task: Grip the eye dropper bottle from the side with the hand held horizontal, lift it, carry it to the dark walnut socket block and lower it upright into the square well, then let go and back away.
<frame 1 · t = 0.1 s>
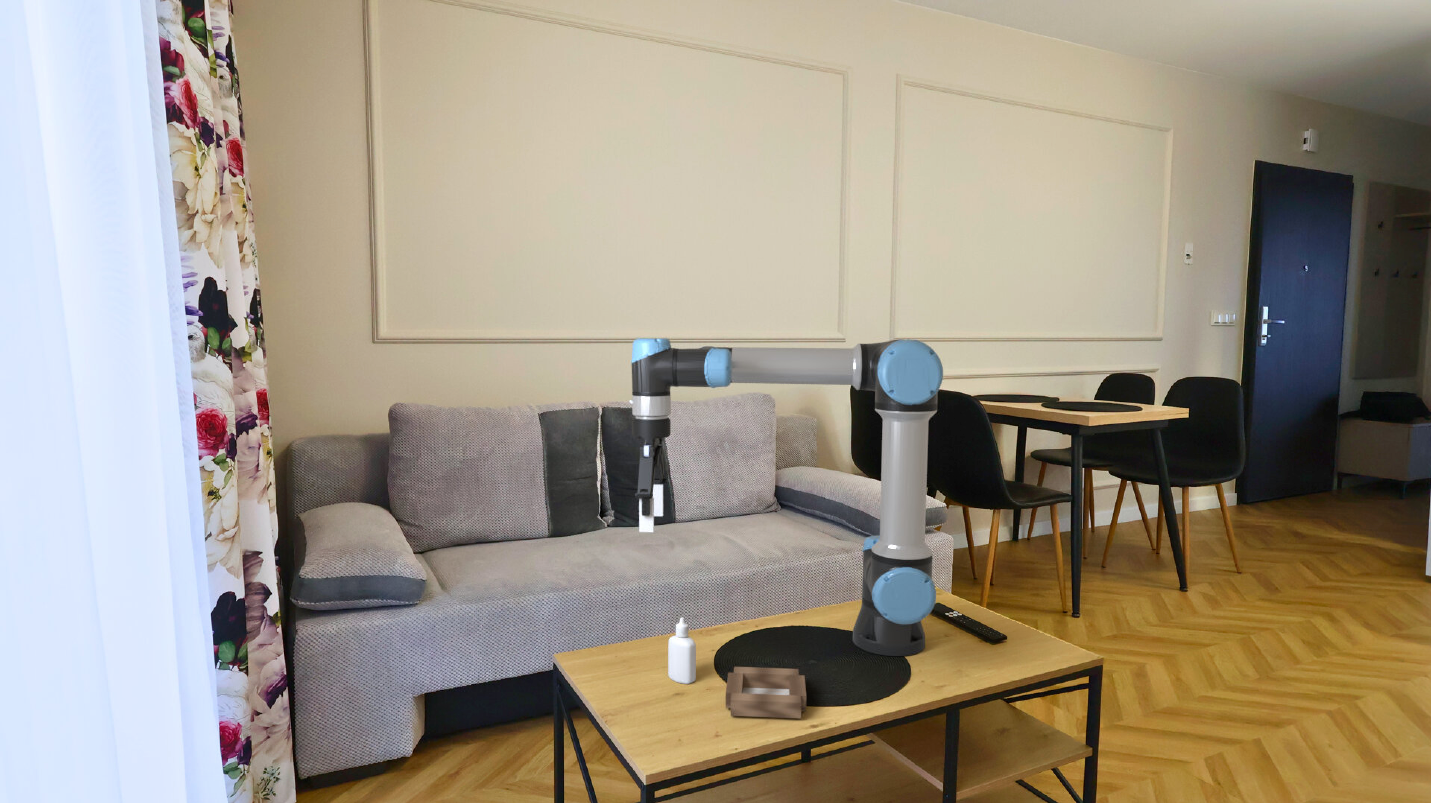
hand: (651, 523, 163), 28 cm above the table, tool pointing down, fingers open, 13 cm apart
eye dropper bottle: (681, 680, 157), on the table
socket block: (765, 701, 148), on the table
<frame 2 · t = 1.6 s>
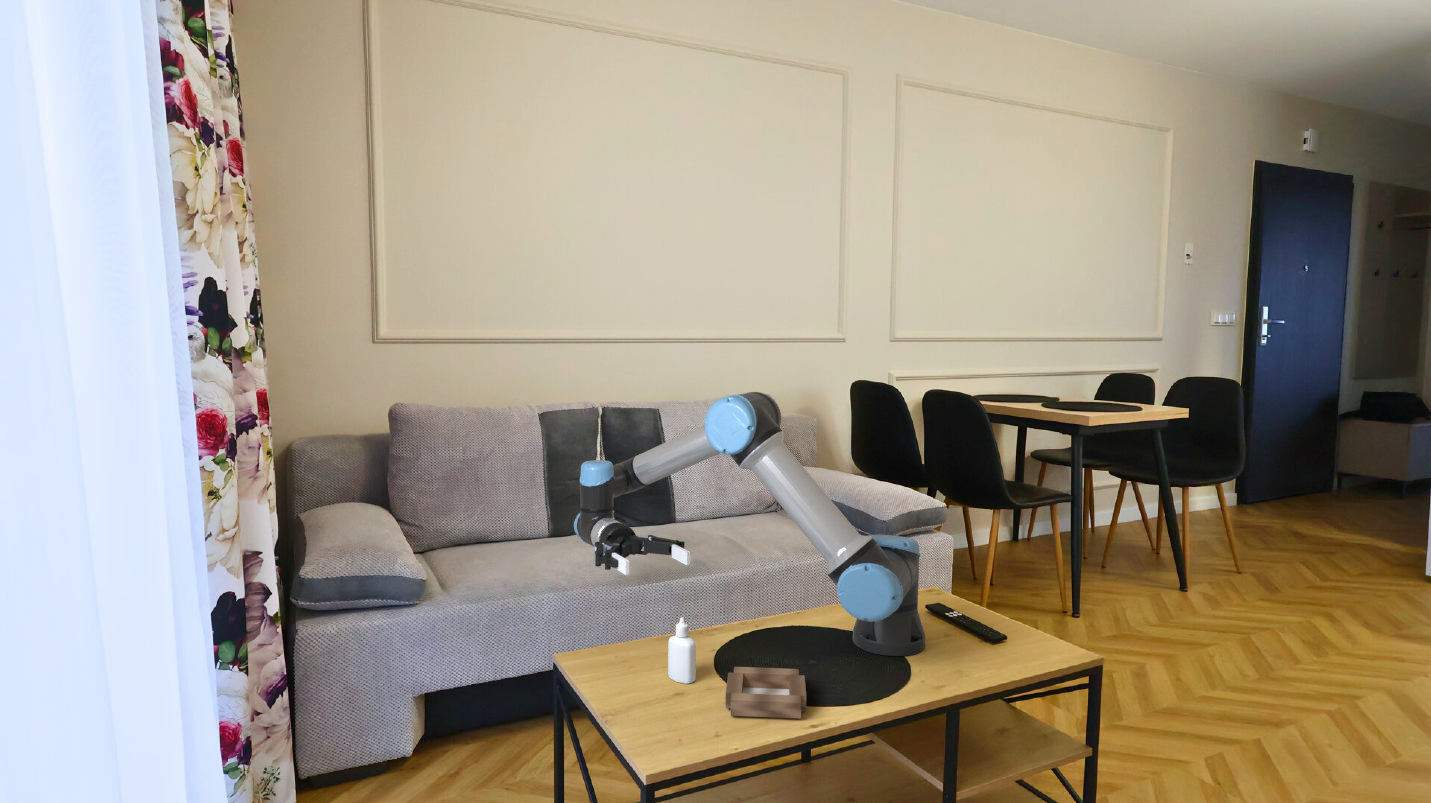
hand: (658, 563, 163), 20 cm above the table, tool horizontal, fingers open, 13 cm apart
nothing on the table moved.
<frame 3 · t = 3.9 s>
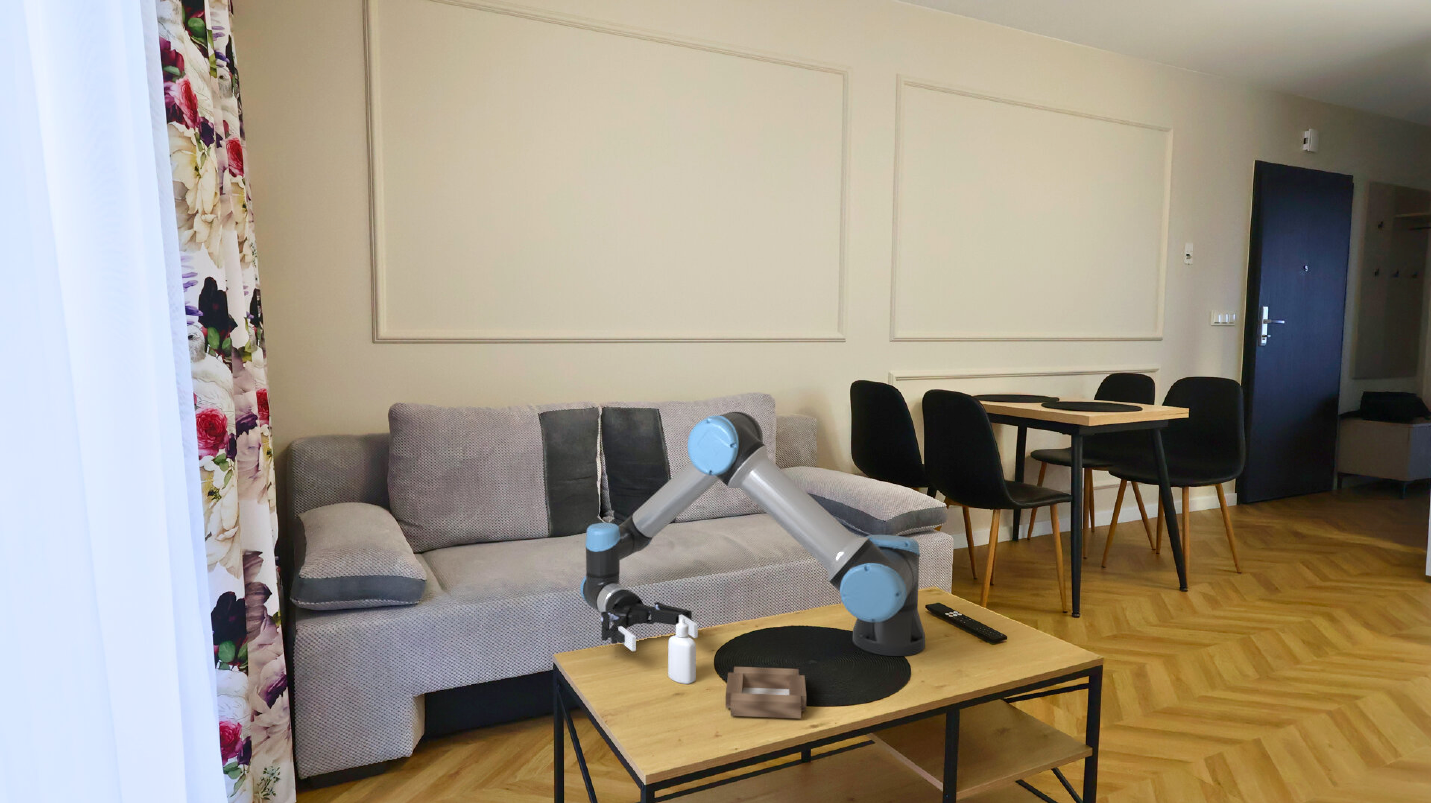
hand: (665, 637, 161), 6 cm above the table, tool horizontal, fingers open, 13 cm apart
nothing on the table moved.
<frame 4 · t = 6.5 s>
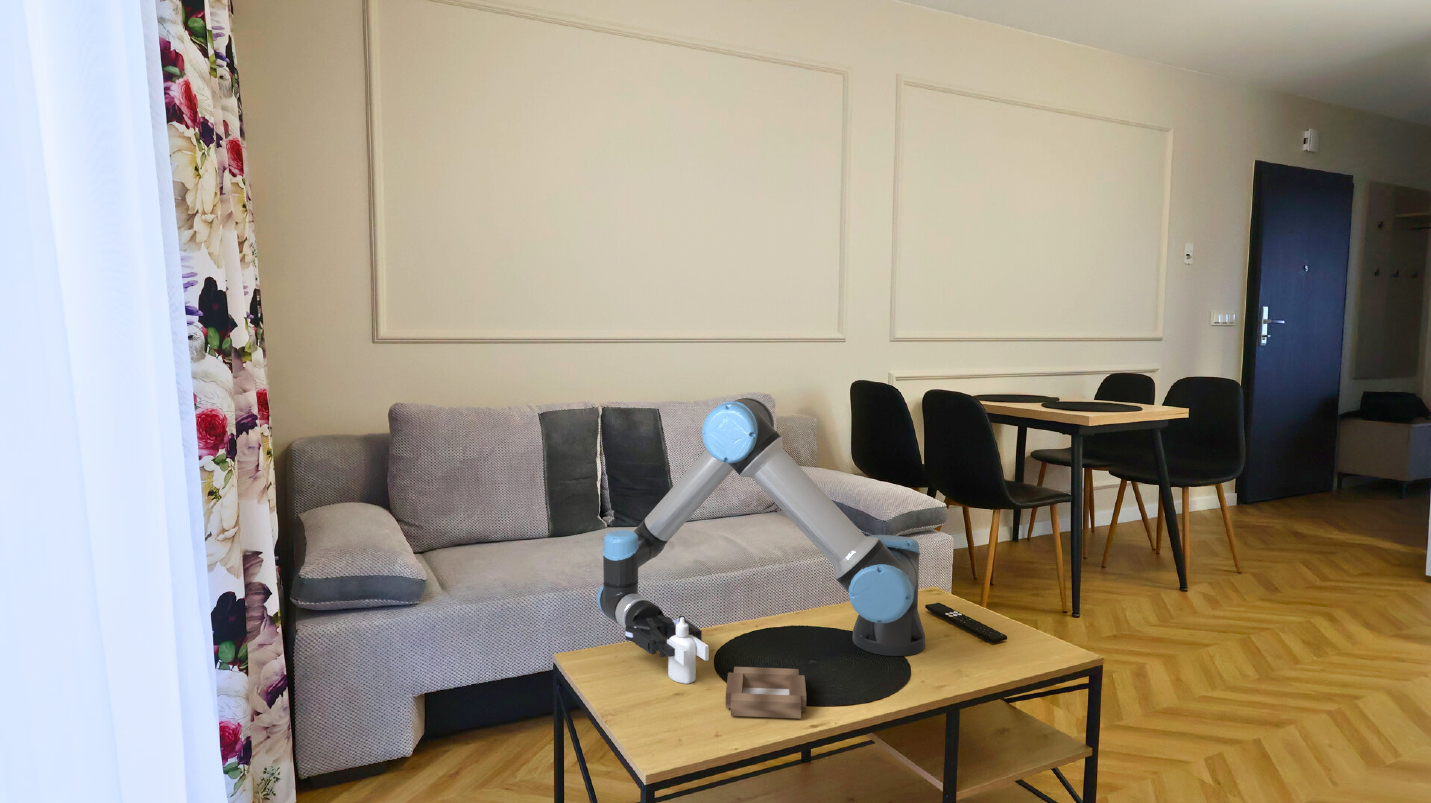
hand: (696, 655, 151), 7 cm above the table, tool horizontal, fingers closed on eye dropper bottle, 4 cm apart
eye dropper bottle: (681, 679, 157), on the table, touching gripper
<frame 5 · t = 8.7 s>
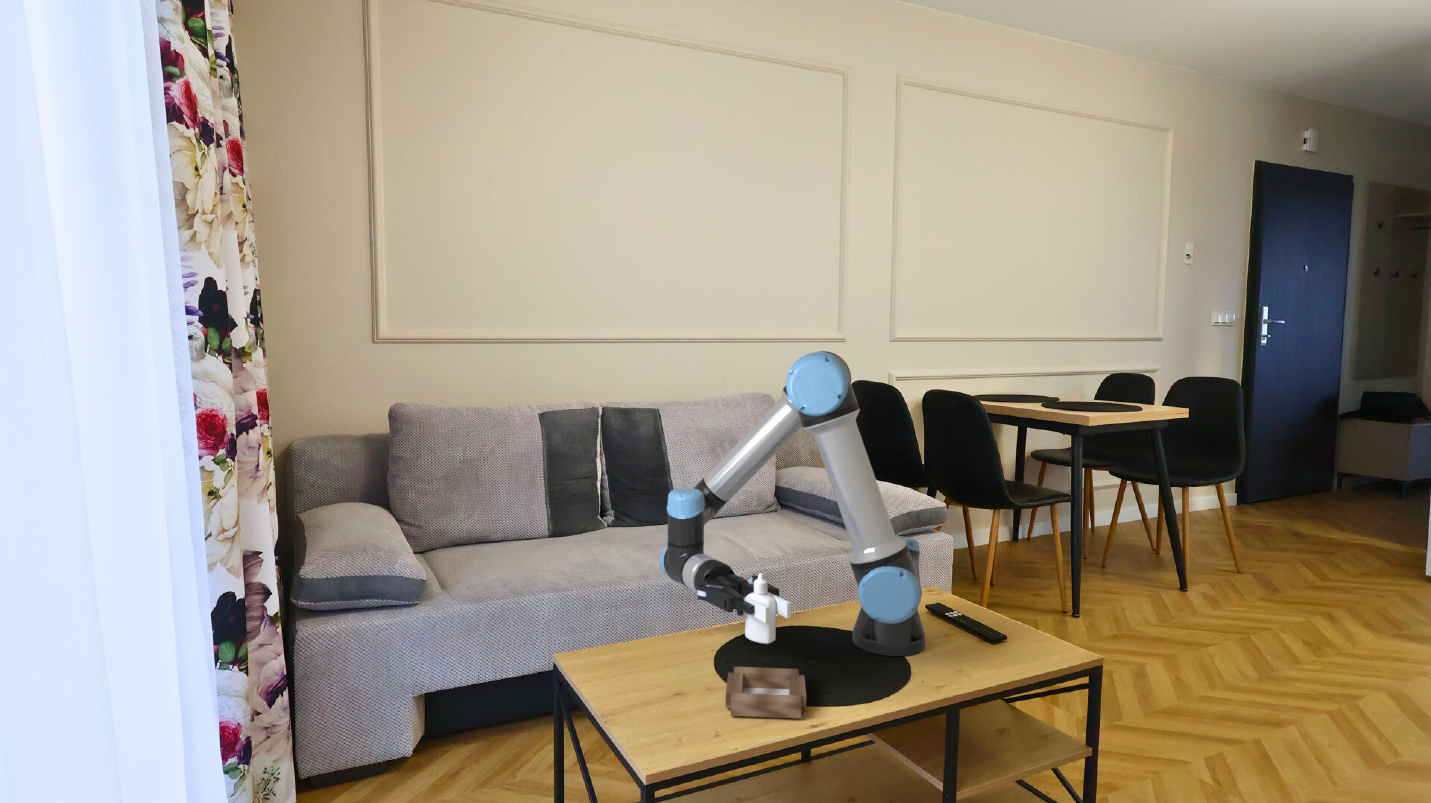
hand: (778, 612, 142), 18 cm above the table, tool horizontal, fingers closed on eye dropper bottle, 4 cm apart
eye dropper bottle: (760, 640, 147), point 11 cm above the table, touching gripper
when the fingers open (8 cm above the table, at t = 11.4 s): eye dropper bottle stays where it is, resting on socket block.
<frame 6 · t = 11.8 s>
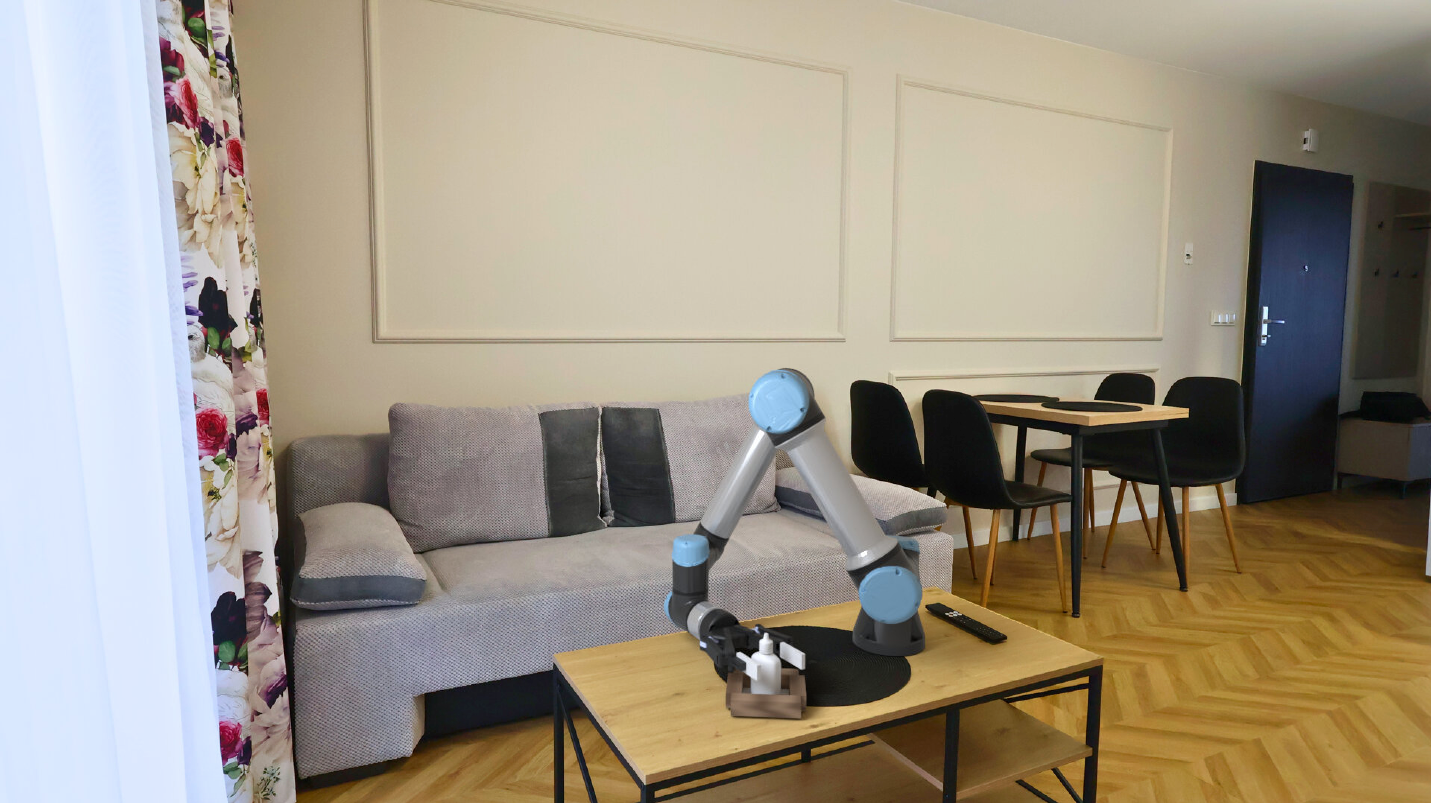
hand: (781, 667, 143), 8 cm above the table, tool horizontal, fingers open, 9 cm apart
eye dropper bottle: (765, 699, 148), resting on socket block
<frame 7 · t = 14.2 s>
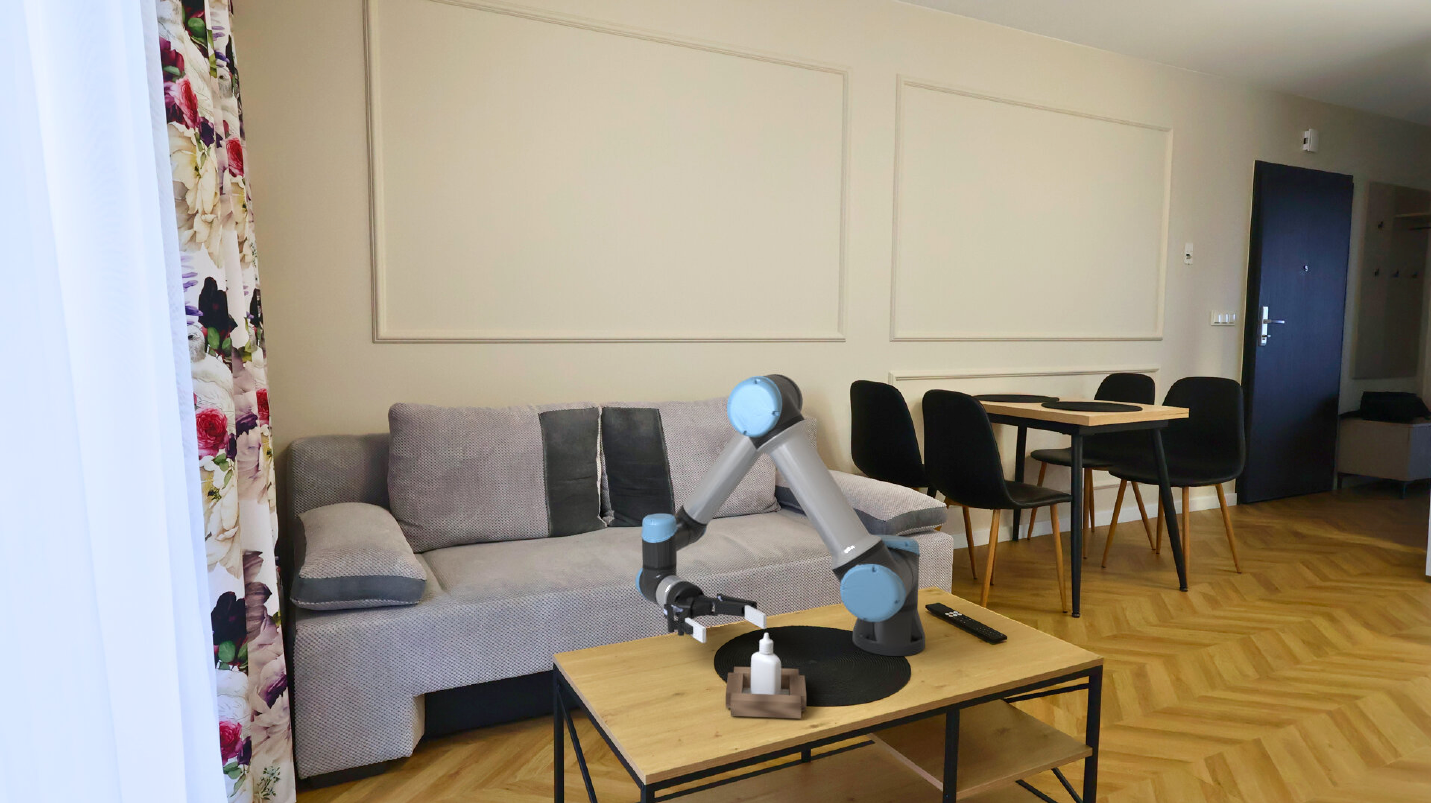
hand: (735, 628, 155), 10 cm above the table, tool horizontal, fingers open, 13 cm apart
nothing on the table moved.
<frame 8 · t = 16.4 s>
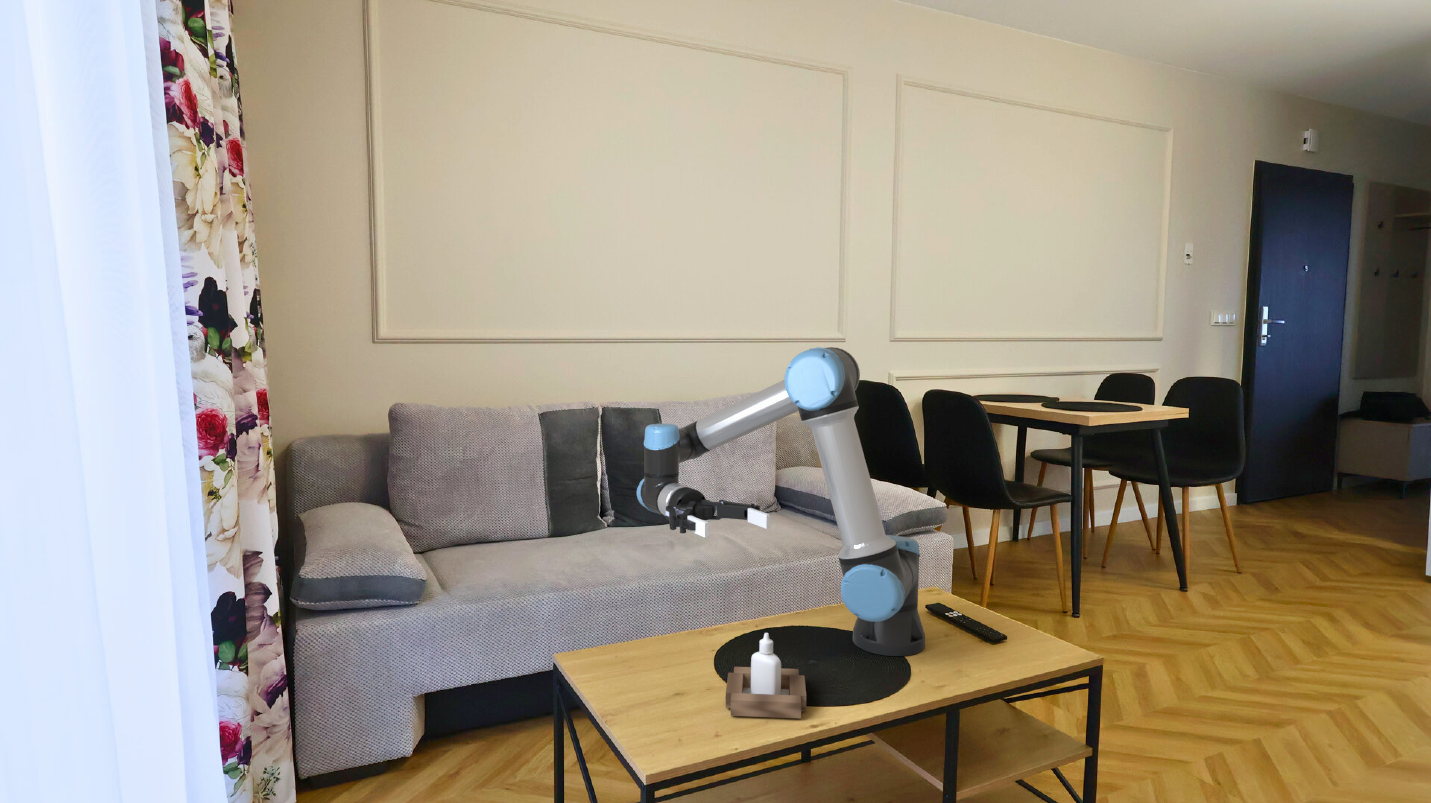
hand: (738, 525, 153), 30 cm above the table, tool horizontal, fingers open, 13 cm apart
nothing on the table moved.
at the end: eye dropper bottle inside the target area on the socket block (0.1 cm from its centre), point 0.3 cm above the socket block's base; eye dropper bottle tilted 0°; the gripper is holding nothing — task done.
